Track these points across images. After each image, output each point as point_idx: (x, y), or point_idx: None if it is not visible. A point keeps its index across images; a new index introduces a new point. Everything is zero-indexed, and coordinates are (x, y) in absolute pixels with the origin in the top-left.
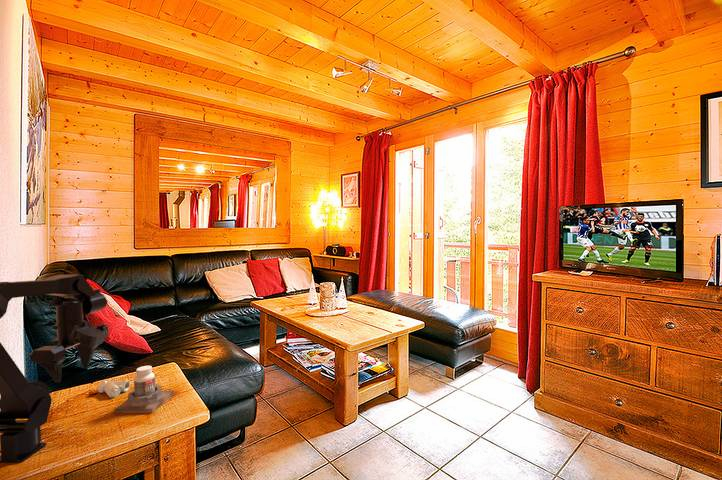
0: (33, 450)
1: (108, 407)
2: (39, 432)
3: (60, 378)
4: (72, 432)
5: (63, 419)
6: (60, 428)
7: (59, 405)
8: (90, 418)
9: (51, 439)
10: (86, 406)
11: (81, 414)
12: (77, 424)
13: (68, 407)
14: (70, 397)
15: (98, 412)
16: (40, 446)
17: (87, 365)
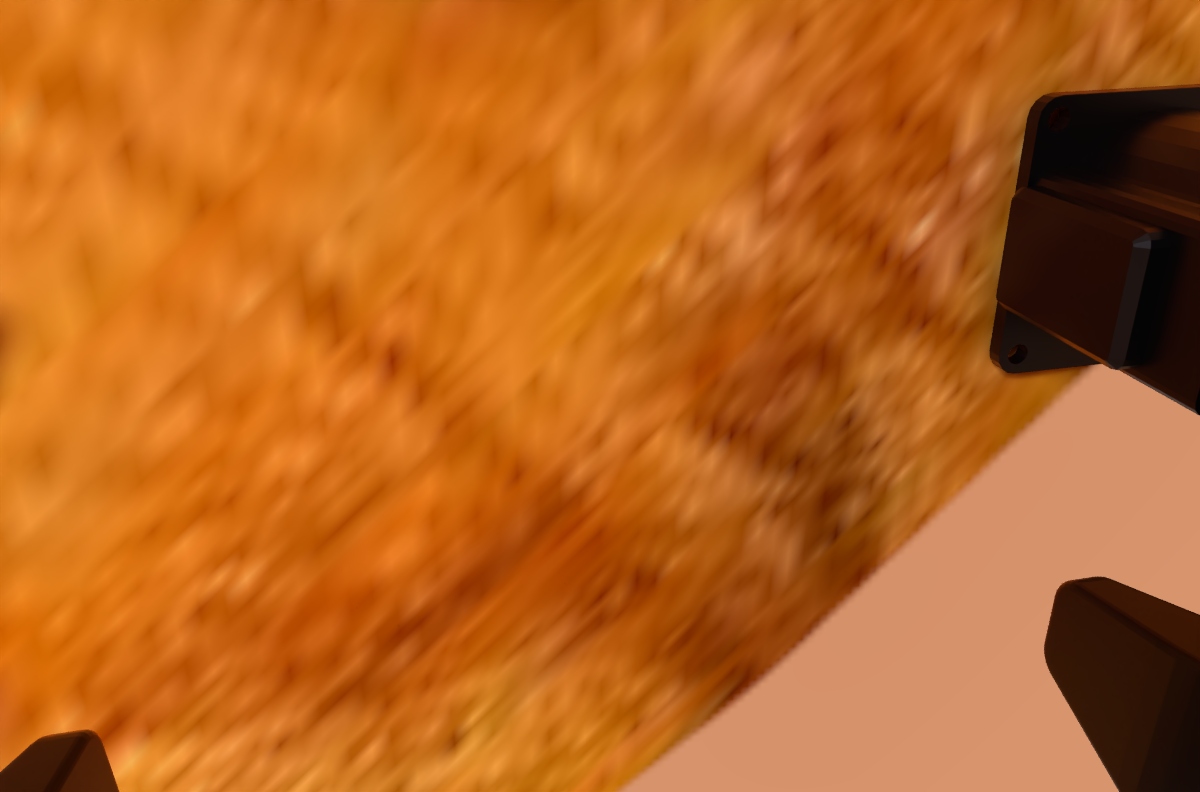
0: (1177, 107)
1: (147, 30)
2: (1131, 196)
3: (1161, 616)
4: (805, 15)
5: (521, 397)
6: (710, 253)
7: (233, 716)
8: (479, 57)
9: (922, 150)
10: (190, 395)
11: (392, 280)
12: (628, 115)
13: (257, 586)
14: None
15: (313, 74)
16: (1104, 107)
17: (55, 783)
